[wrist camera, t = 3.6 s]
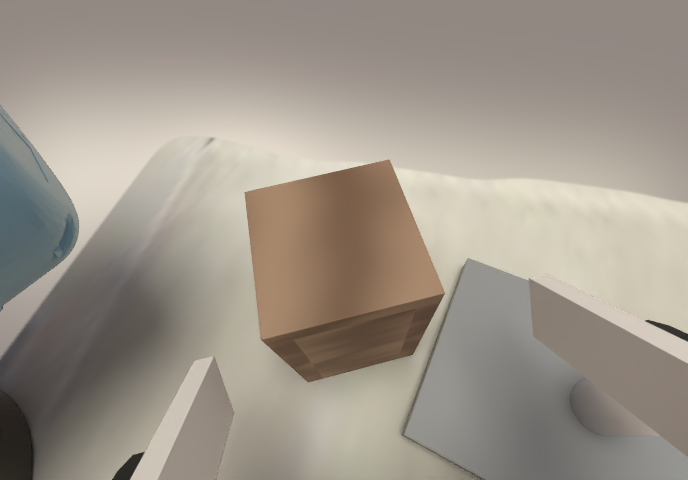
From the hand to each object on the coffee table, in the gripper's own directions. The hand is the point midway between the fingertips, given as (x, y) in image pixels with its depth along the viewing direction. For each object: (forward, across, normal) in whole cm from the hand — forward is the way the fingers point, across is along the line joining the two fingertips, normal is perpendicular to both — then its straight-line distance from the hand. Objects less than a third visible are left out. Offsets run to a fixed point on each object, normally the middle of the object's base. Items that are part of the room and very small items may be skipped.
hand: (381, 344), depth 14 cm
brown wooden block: (+10, -1, -3) cm, 10 cm away
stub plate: (+3, +11, -10) cm, 15 cm away
